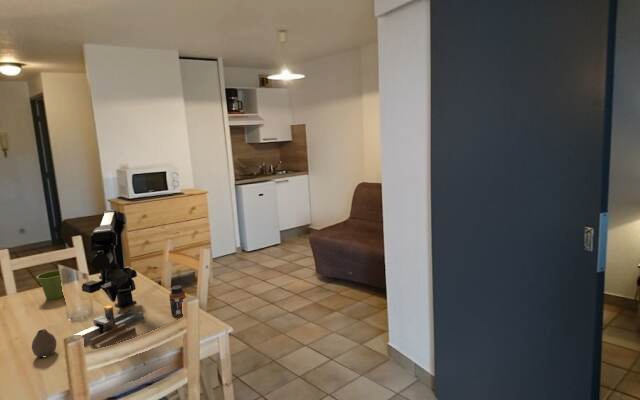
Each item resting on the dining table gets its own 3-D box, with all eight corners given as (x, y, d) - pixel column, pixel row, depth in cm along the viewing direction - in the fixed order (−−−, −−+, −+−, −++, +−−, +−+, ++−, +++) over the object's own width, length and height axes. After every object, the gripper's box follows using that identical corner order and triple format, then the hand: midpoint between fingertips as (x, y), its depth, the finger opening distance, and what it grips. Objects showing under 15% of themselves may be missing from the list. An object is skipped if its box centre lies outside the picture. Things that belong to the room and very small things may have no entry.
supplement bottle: (182, 317, 162) (179, 290, 160) (168, 316, 163) (165, 289, 161) (189, 310, 167) (186, 284, 166) (176, 310, 169) (173, 284, 167)
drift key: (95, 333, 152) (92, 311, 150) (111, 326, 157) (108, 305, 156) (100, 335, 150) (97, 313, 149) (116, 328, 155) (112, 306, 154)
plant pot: (75, 294, 192) (71, 271, 191) (48, 304, 183) (44, 280, 181) (62, 290, 199) (59, 268, 197) (35, 299, 189) (31, 276, 187)
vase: (41, 350, 142) (37, 326, 141) (62, 348, 143) (57, 325, 141) (29, 361, 135) (24, 336, 134) (51, 359, 136) (46, 334, 134)
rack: (90, 345, 143) (89, 339, 143) (124, 329, 154) (123, 323, 154) (102, 350, 140) (101, 344, 139) (136, 333, 150) (135, 327, 150)
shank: (71, 346, 144) (69, 336, 144) (96, 334, 152) (94, 325, 151) (75, 348, 143) (74, 338, 142) (100, 336, 150) (99, 327, 150)
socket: (93, 331, 154) (91, 319, 153) (132, 314, 167) (130, 303, 166) (105, 336, 150) (103, 323, 149) (144, 318, 163) (142, 306, 162)
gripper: (95, 273, 141) (102, 315, 144) (143, 257, 157) (148, 295, 159) (77, 269, 147) (84, 309, 149) (125, 254, 162) (130, 291, 165)
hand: (113, 301), depth 156 cm, fingers closed
